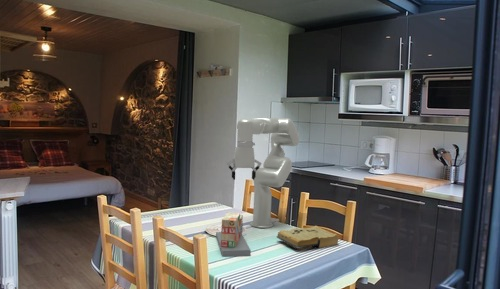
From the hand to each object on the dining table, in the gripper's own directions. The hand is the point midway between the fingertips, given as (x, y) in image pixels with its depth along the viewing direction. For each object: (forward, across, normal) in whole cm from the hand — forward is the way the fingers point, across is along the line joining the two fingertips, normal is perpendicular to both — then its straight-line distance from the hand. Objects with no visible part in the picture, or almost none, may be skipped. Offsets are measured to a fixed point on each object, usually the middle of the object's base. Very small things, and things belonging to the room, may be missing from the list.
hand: (243, 179), depth 189 cm
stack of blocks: (+26, +7, +15) cm, 31 cm away
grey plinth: (+28, +7, +16) cm, 33 cm away
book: (+29, -29, +15) cm, 44 cm away
